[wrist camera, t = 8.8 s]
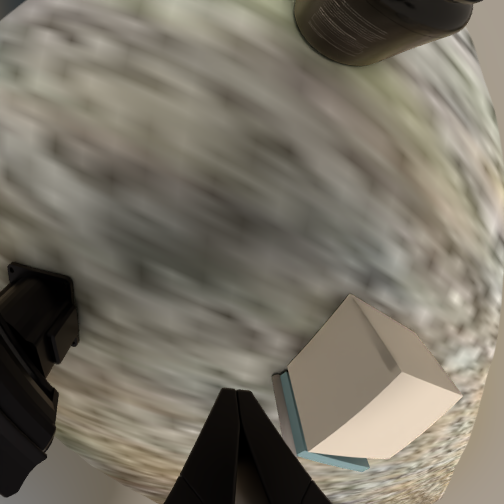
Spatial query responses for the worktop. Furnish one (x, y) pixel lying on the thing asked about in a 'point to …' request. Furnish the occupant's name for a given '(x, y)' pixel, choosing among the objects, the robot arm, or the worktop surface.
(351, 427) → the carton
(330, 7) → the supplement bottle
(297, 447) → the flap
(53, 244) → the worktop surface
